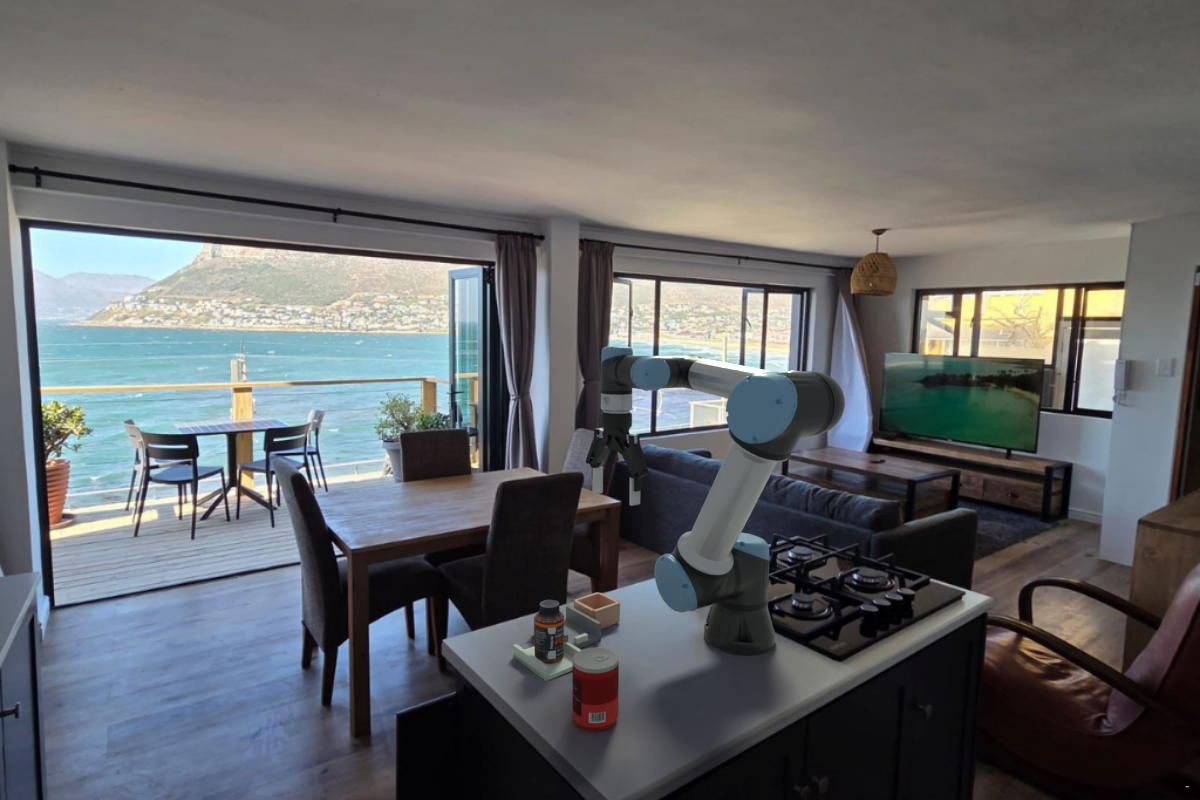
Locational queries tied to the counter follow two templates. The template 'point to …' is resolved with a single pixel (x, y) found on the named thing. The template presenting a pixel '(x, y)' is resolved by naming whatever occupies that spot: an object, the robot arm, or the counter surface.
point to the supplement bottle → (549, 632)
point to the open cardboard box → (599, 608)
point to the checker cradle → (580, 628)
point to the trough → (546, 669)
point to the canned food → (595, 688)
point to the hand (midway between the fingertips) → (615, 498)
